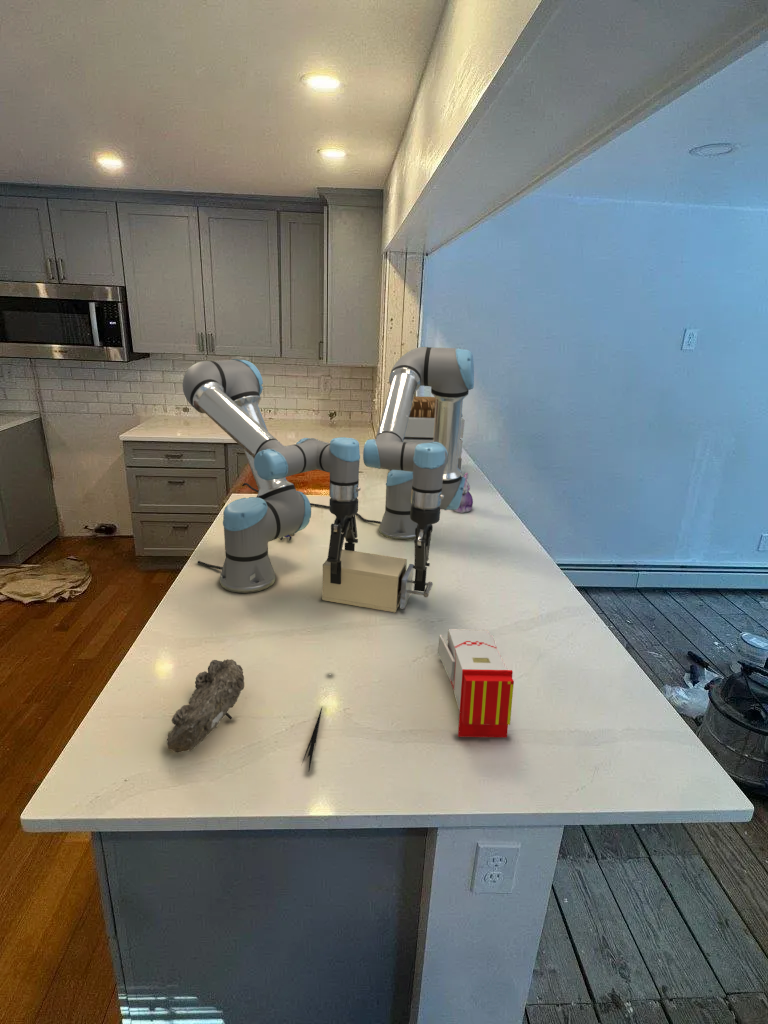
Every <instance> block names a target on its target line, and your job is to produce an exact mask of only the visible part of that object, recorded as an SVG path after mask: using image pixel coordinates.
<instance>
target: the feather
mask: <svg viewBox="0 0 768 1024" xmlns="http://www.w3.org/2000/svg"><path fill="white" fill-rule="evenodd" d="M329 675H330V676H331V675H332V674H331V673H330V674H329ZM322 710H323V707H321V708H320V710H319V713H318V716H317V719H316V723H315V725H314V728H313V731H312V733H311V737H310V739H309V742H308V745H307V748H306V751H305V754H304V757H303V760H302V763H301V767H302V765H303V763H304V761H305V758H308V759H309V760H308V762H307V763H308V764H307V766H308V771H310V770H311V766H312V765H311V764H312V760H313V757H315V756H314V755H315V751H316V749H315V746H317V739H318V733H319V729H320V722H321V717H322V712H323V711H322ZM313 754H314V755H313ZM306 755H307V757H306Z"/></svg>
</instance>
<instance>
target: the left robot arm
mask: <svg viewBox="0 0 768 1024" xmlns="http://www.w3.org/2000/svg"><path fill="white" fill-rule="evenodd" d="M263 384H264V381H263V377H262V374H261V372H260V370H259V369H258V367H257V366H256V364H254V363H252V362H251V361H249V360H246V359H238V358H233V359H232V358H231V359H221V360H202V361H198V362H195V363H194V364H192V365H191V366H190V367H188V368H187V370H186V371H185V373H184V375H183V379H182V392H183V394H184V395H183V396H184V397H185V399H186V400H187V402H188V404H189V405H190V406H191V407H192V408H193V409H195V411H197V412H198V413H200V414H204V415H206V416H207V417H209V418H210V420H212V421H213V422H214V423H215V424H216V425H217V426H218V427H219V428H220V429H221V430H222V431H223V432H225V434H227V436H229V437H230V438H231V439H232V440H233V441H234V442H236V443H237V445H239V446H240V447H241V448H242V450H243V452H244V455H245V458H246V460H247V463H248V466H249V468H250V471H251V473H252V476H253V479H254V481H255V484H256V486H257V490H258V491H259V492H257V494H256V496H249V497H242V498H238V499H235V500H233V501H231V502H229V503H228V504H227V505H226V506H225V507H224V510H223V519H222V526H223V534H224V535H223V536H224V553H225V554H224V555H225V557H224V558H225V559H224V561H223V563H222V566H219V565H216V564H215V565H214V564H210V563H207V562H203V561H201V560H197V564H199V565H201V566H204V567H207V568H211V569H216V570H220V571H221V572H220V575H219V583H220V586H221V587H222V588H223V589H224V590H226V591H228V592H232V593H238V594H249V593H257V592H260V591H264V590H266V589H268V588H270V587H272V586H273V585H274V584H275V582H276V571H275V568H274V566H273V563H272V561H271V558H270V556H269V543H270V542H272V541H275V540H278V539H280V538H281V537H283V538H285V537H284V536H287V535H290V534H294V533H295V534H296V533H298V532H300V531H302V530H304V529H305V528H307V527H308V526H309V523H310V522H311V517H312V505H310V503H311V502H310V500H309V498H308V496H307V495H306V494H304V492H302V491H299V490H297V489H296V486H295V484H294V483H293V482H290V481H289V480H287V477H290V476H295V475H297V474H304V473H307V472H311V471H316V470H317V471H322V472H326V473H329V494H328V495H329V497H330V498H329V505H328V506H329V508H328V509H329V512H330V514H332V515H334V516H335V519H334V521H333V523H331V524H330V536H329V543H328V544H329V545H328V552H327V558H326V560H327V561H328V562H331V568H330V583H333V584H341V561H340V558H341V553H342V549H343V548H344V550H350V551H356V549H355V548H356V544H358V542H359V539H358V529H357V520H356V519H357V518H356V515H355V514H356V513H358V512H359V499H358V498H359V492H360V491H361V486H359V484H360V483H359V482H360V479H359V477H360V459H361V454H360V453H361V451H360V450H361V449H360V442H359V441H358V440H357V439H356V438H353V437H345V436H340V437H339V436H338V437H334V438H332V439H331V440H330V441H329V442H327V441H323V440H319V439H318V438H313V437H312V438H310V437H303V438H301V439H299V440H298V441H297V442H296V443H295V444H289V445H284V444H282V442H281V441H279V440H278V439H277V438H276V437H275V436H274V435H272V434H271V433H270V432H269V431H268V428H267V425H266V422H265V420H264V417H263V414H262V412H261V409H260V407H259V404H260V402H261V400H262V398H261V394H262V392H263V390H264V386H262V385H263ZM344 541H345V542H344ZM343 546H344V547H343Z"/></svg>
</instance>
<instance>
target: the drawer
mask: <svg viewBox="0 0 768 1024" xmlns="http://www.w3.org/2000/svg"><path fill="white" fill-rule="evenodd" d="M413 565H414V564H413V563H409V564H408V566H407V567H406V572H405V574H404V576H403V578H402V575H403V571H402V573H401V575H400V577H399V580H398V596H397V599H398V597H399V595H400V592H401V599H400V604H399V609H401V610H405V609H406V606H407V604H408V602H409V599H410V597H411V595H418V596H423V598H428V597H429V595H430V593H431V590H432V588H433V581H428V582H426V584H425V591H424V592H422V591H415V590H413V584H414V583H415V580H414V570H415V569H414V568H413Z"/></svg>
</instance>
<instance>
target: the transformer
mask: <svg viewBox="0 0 768 1024" xmlns="http://www.w3.org/2000/svg"><path fill="white" fill-rule="evenodd" d="M435 399H436V398H435V397H434V396H415V395H414V399H413V403H412V407H411V411H410V416H409V420H408V424H407V428H406V432H405V436H404V441H403V442H407V443H419V444H422V443H430V442H433V434H434V417H435ZM464 429H465V419H464V418H463V417H461V430H460V442H459V455H458V468H459V469H460V471H461V472H462V461H463V460H462V453H463V442H464V441H463V440H462V439H463V438H464V431H465V430H464ZM390 471H391V469H389V472H390Z"/></svg>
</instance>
